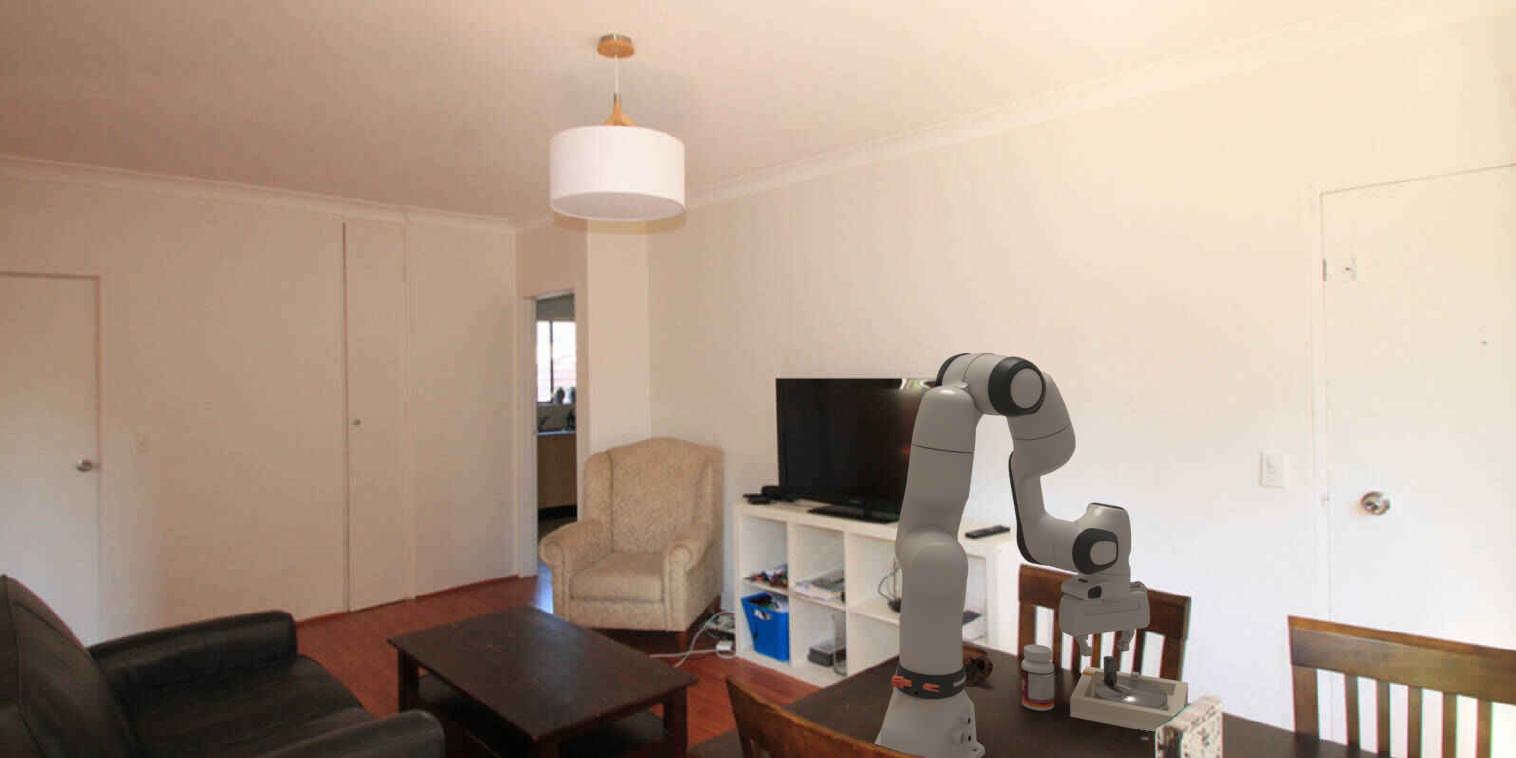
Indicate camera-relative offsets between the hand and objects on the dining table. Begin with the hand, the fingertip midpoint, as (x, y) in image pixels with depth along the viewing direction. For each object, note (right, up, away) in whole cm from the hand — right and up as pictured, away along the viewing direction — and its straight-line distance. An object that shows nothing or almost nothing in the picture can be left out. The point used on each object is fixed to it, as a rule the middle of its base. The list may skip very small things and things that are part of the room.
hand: (1104, 653), depth 164 cm
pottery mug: (-24, -10, +12) cm, 28 cm away
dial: (+3, -8, -4) cm, 10 cm away
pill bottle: (-14, -10, -2) cm, 17 cm away
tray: (+3, -10, -4) cm, 11 cm away
